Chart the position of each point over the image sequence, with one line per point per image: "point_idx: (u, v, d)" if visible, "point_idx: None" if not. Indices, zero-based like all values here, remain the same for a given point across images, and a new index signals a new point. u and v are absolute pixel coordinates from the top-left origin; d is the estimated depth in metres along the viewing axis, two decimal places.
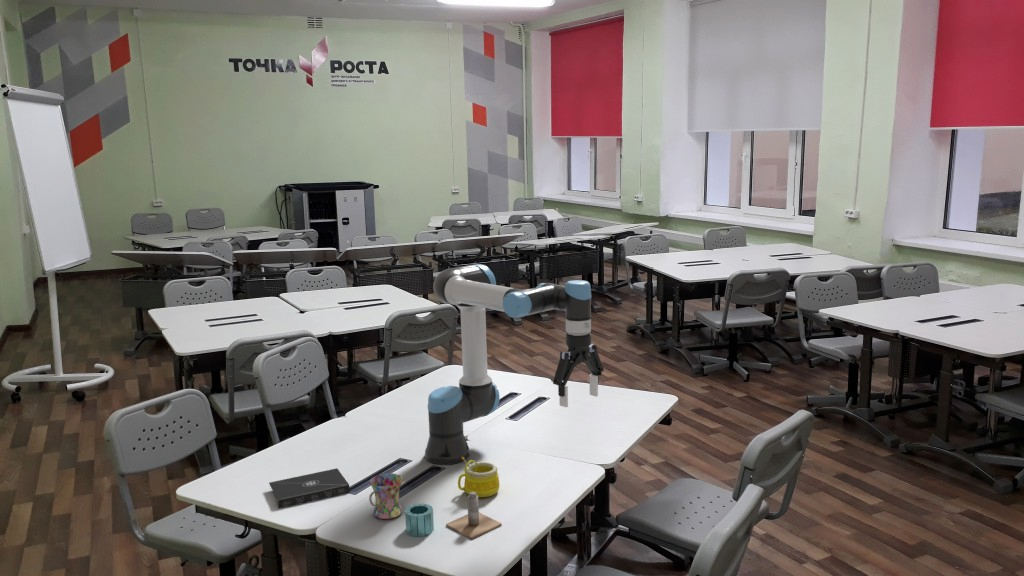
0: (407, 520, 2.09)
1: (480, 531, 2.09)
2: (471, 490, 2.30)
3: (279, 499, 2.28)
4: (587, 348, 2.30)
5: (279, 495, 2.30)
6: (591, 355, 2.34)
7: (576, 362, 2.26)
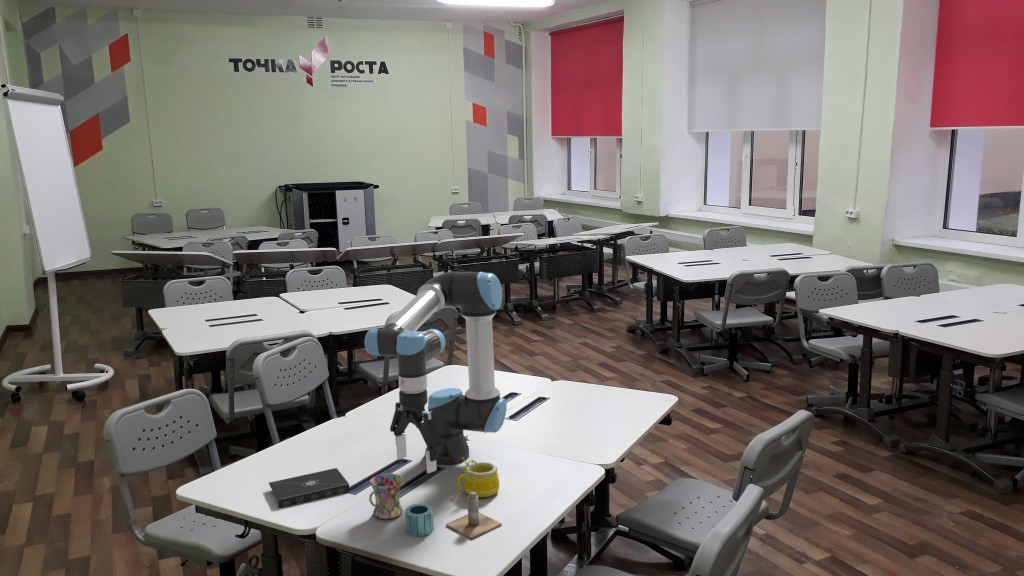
0: (407, 520, 2.09)
1: (480, 531, 2.09)
2: (471, 490, 2.30)
3: (279, 499, 2.28)
4: (416, 411, 2.03)
5: (279, 495, 2.31)
6: None
7: (402, 418, 2.07)
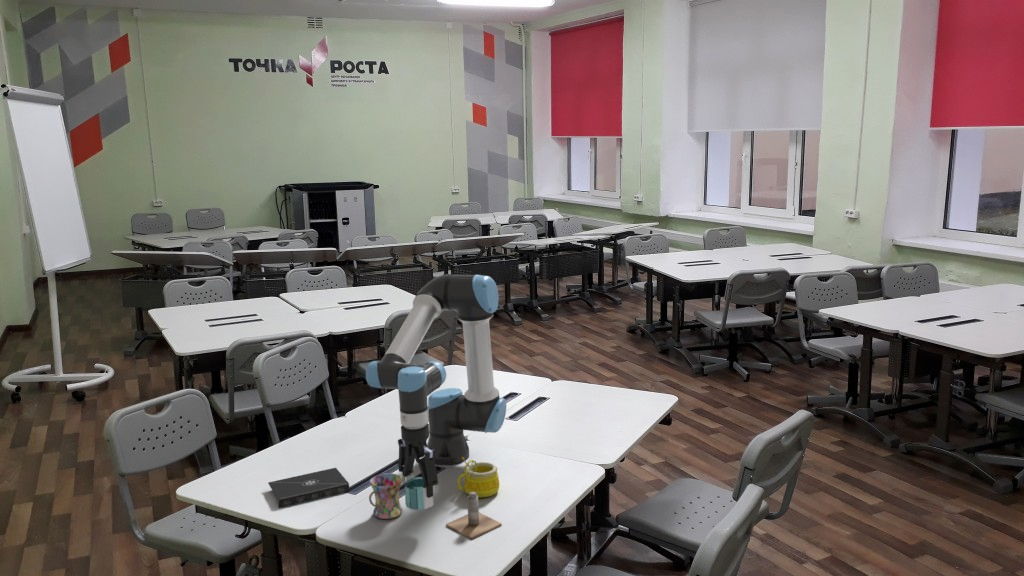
0: (406, 493, 2.08)
1: (480, 531, 2.09)
2: (471, 490, 2.30)
3: (279, 499, 2.28)
4: (419, 446, 2.05)
5: (279, 495, 2.31)
6: None
7: (406, 453, 2.09)
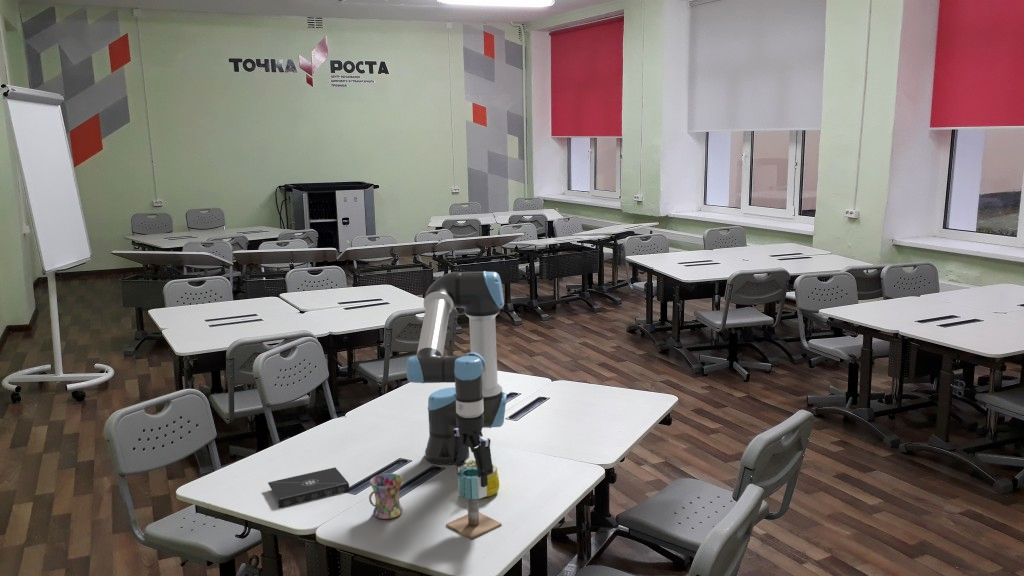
0: (460, 483, 2.09)
1: (480, 531, 2.09)
2: None
3: (280, 498, 2.28)
4: (474, 435, 2.06)
5: (279, 494, 2.31)
6: None
7: (460, 443, 2.10)
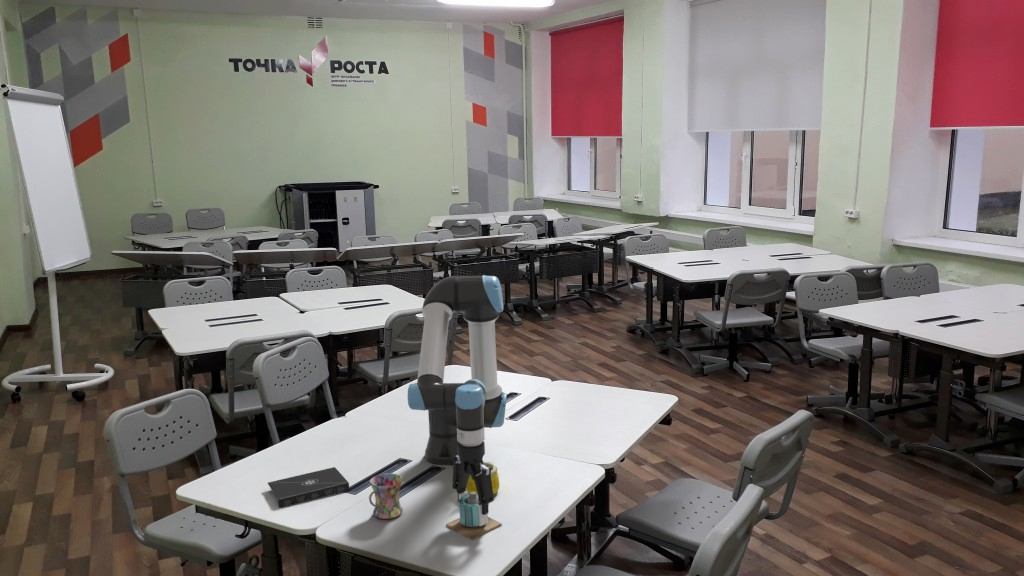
0: (461, 510, 2.11)
1: (480, 531, 2.09)
2: (471, 490, 2.30)
3: (280, 498, 2.28)
4: (475, 463, 2.08)
5: (279, 494, 2.31)
6: None
7: (462, 471, 2.12)
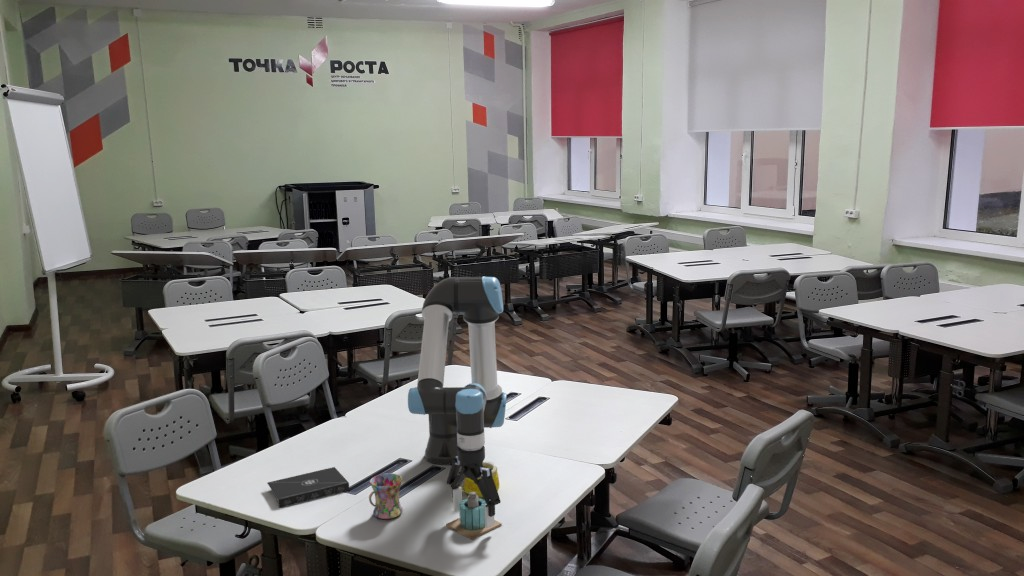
0: (462, 514, 2.11)
1: (480, 531, 2.09)
2: (471, 490, 2.30)
3: (280, 498, 2.28)
4: (475, 467, 2.08)
5: (279, 494, 2.31)
6: None
7: (460, 473, 2.12)
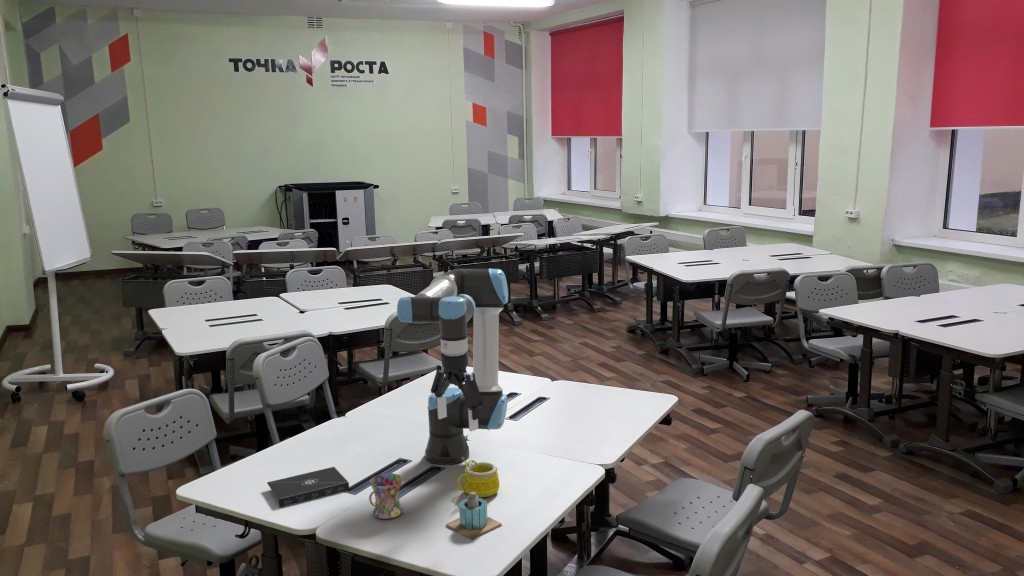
0: (462, 514, 2.11)
1: (480, 531, 2.09)
2: (471, 490, 2.30)
3: (280, 498, 2.28)
4: (458, 373, 2.12)
5: (279, 494, 2.31)
6: None
7: (444, 379, 2.16)
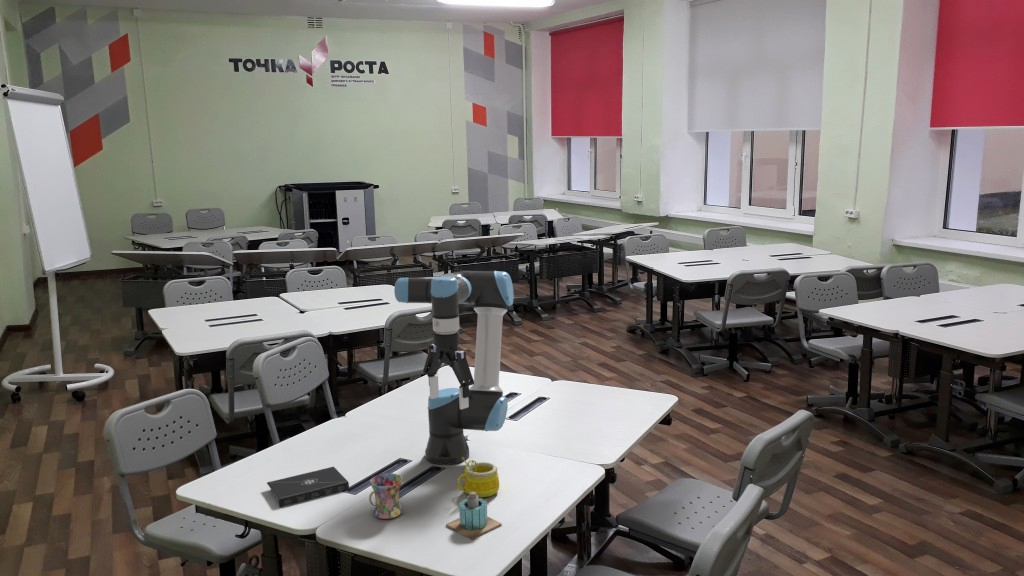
0: (462, 514, 2.11)
1: (480, 531, 2.09)
2: (471, 490, 2.30)
3: (280, 498, 2.28)
4: (449, 351, 2.15)
5: (279, 494, 2.31)
6: None
7: (436, 358, 2.20)
